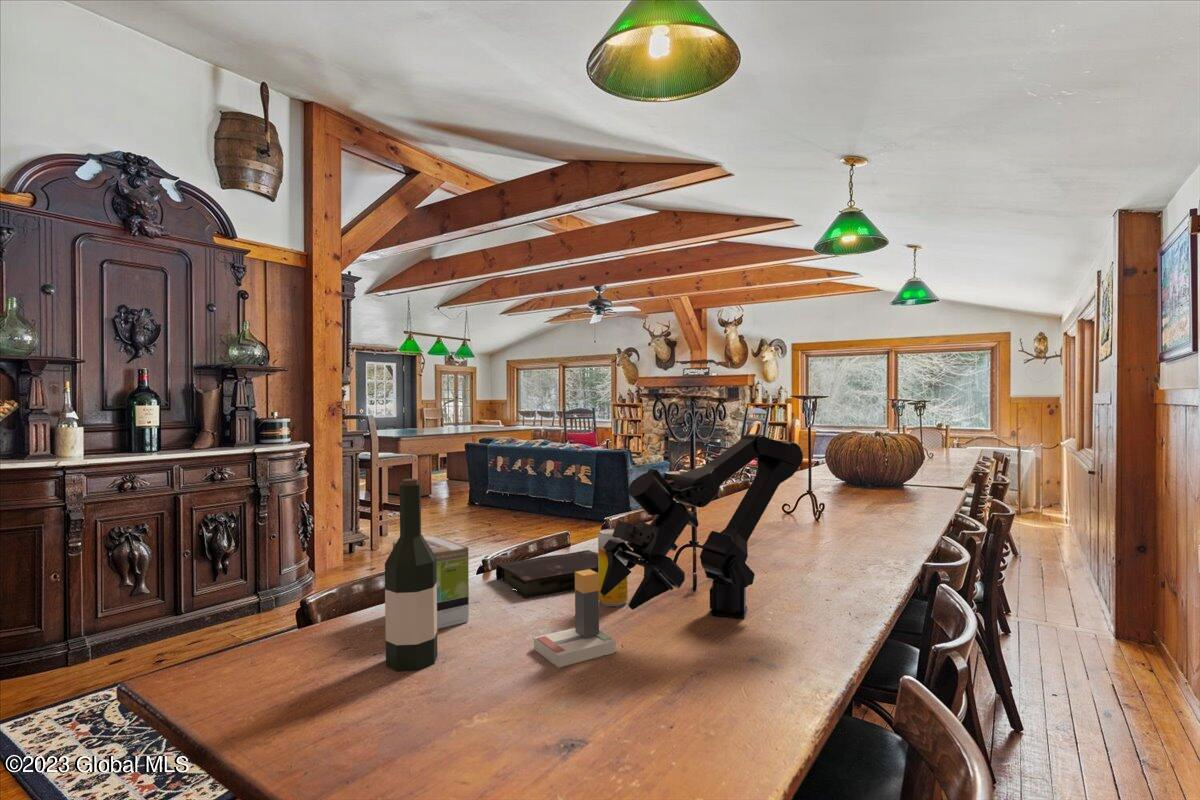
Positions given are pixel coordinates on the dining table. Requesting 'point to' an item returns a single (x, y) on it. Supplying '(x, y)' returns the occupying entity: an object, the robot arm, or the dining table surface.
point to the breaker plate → (573, 647)
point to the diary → (546, 573)
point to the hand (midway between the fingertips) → (615, 600)
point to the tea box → (450, 581)
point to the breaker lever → (587, 603)
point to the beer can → (621, 590)
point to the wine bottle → (410, 590)
